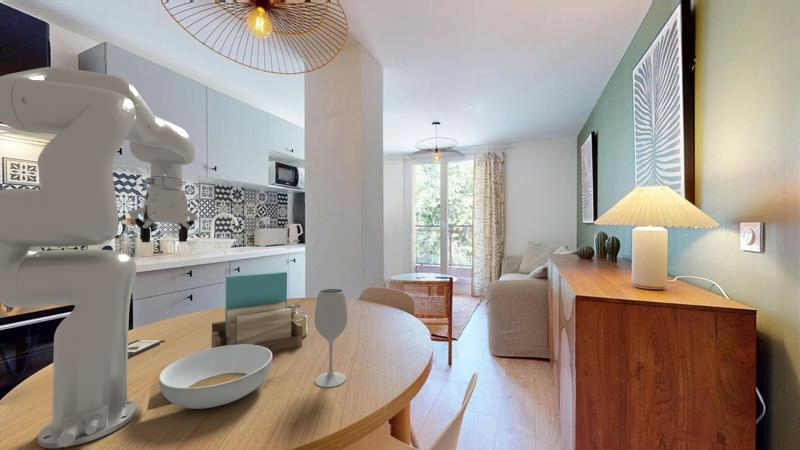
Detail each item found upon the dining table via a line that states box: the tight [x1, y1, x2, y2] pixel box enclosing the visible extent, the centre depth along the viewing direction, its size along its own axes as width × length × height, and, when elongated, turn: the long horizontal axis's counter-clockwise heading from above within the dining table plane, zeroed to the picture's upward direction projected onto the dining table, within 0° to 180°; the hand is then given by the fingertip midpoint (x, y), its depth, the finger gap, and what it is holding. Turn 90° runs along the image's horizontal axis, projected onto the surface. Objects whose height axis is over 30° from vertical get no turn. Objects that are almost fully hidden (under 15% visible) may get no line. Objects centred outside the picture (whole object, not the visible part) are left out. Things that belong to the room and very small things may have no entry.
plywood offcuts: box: [227, 302, 292, 345], centre depth 85 cm, size 3×16×12 cm, turn 126°
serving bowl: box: [158, 344, 273, 410], centre depth 66 cm, size 21×21×7 cm
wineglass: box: [314, 288, 348, 389], centre depth 73 cm, size 8×8×21 cm
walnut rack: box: [211, 310, 303, 354], centre depth 87 cm, size 10×22×10 cm, turn 126°
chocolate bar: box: [128, 339, 166, 360], centre depth 87 cm, size 9×1×18 cm
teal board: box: [224, 271, 288, 337], centre depth 89 cm, size 2×16×21 cm, turn 126°
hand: (165, 241), depth 91 cm, fingers open, 9 cm apart
